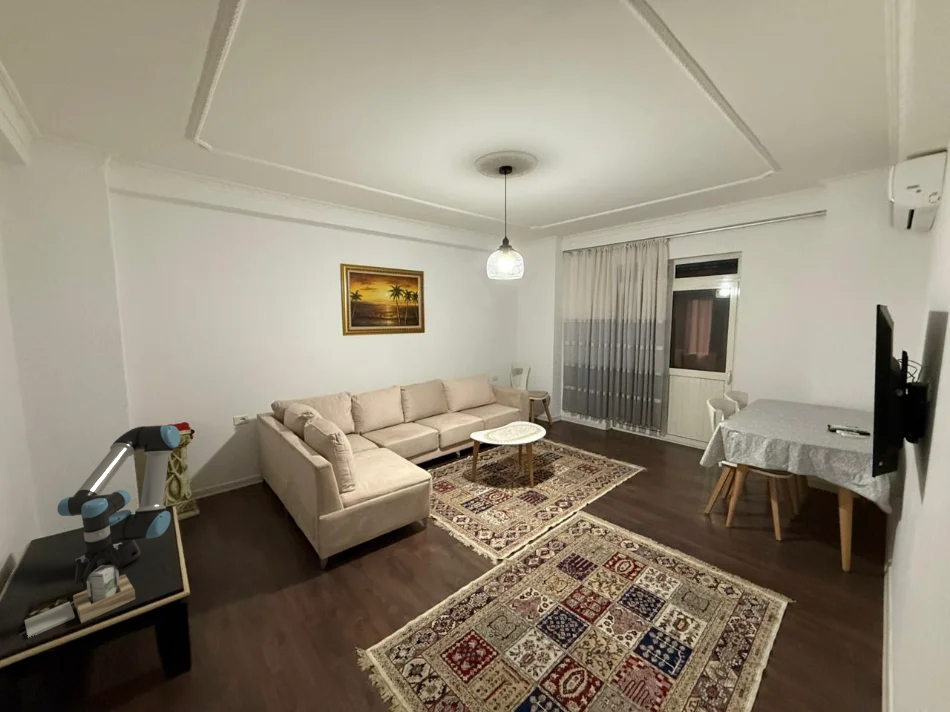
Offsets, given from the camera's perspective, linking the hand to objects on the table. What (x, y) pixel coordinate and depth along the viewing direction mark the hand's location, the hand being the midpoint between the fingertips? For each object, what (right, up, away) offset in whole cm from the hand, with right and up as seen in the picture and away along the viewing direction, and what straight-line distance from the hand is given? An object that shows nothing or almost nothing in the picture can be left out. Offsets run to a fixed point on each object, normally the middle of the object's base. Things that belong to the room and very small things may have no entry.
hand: (103, 588), depth 157 cm
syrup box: (0, -6, +1) cm, 6 cm away
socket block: (0, -6, +1) cm, 6 cm away
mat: (-12, -7, -9) cm, 17 cm away
